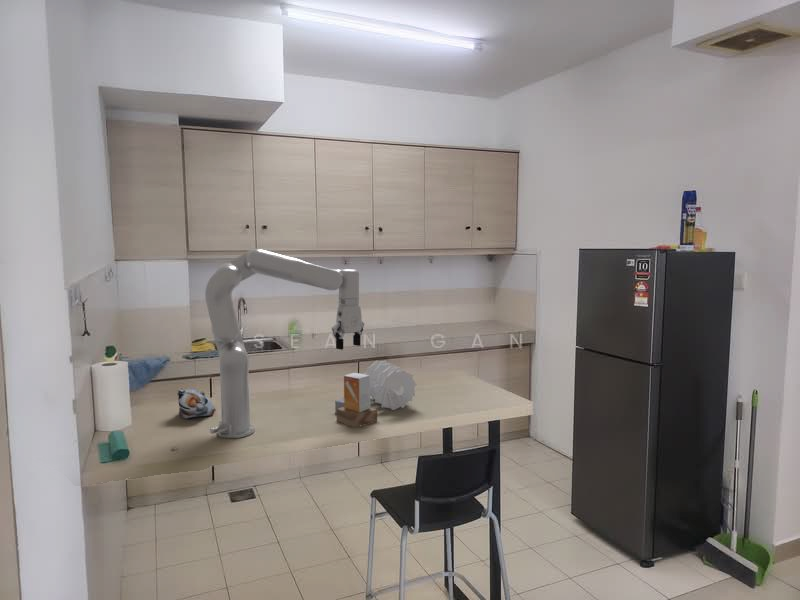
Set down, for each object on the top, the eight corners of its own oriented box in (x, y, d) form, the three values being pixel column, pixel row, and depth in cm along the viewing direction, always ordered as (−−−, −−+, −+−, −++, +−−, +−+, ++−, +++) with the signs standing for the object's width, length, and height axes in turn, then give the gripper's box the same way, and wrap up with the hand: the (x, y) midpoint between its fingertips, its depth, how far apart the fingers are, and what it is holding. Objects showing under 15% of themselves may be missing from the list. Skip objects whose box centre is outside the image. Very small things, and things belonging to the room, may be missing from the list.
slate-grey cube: (344, 415, 214) (344, 403, 213) (335, 413, 217) (335, 400, 216) (353, 412, 218) (353, 400, 217) (343, 409, 221) (343, 397, 220)
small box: (343, 408, 207) (343, 375, 206) (355, 404, 212) (354, 372, 211) (359, 412, 202) (358, 378, 201) (370, 408, 207) (370, 375, 206)
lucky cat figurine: (222, 412, 216) (216, 387, 207) (198, 432, 207) (191, 406, 199) (197, 397, 222) (190, 372, 214) (172, 415, 214) (164, 389, 206)
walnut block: (354, 428, 200) (354, 415, 199) (336, 421, 208) (336, 408, 207) (377, 422, 207) (377, 409, 207) (359, 415, 215) (359, 403, 215)
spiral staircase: (384, 404, 241) (409, 418, 219) (350, 391, 234) (373, 404, 211) (399, 365, 244) (426, 375, 221) (366, 352, 236) (390, 361, 214)
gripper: (340, 305, 194) (340, 352, 196) (371, 301, 208) (370, 345, 210) (325, 303, 198) (325, 349, 200) (356, 299, 212) (355, 342, 214)
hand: (348, 347), depth 205 cm, fingers open, 9 cm apart
